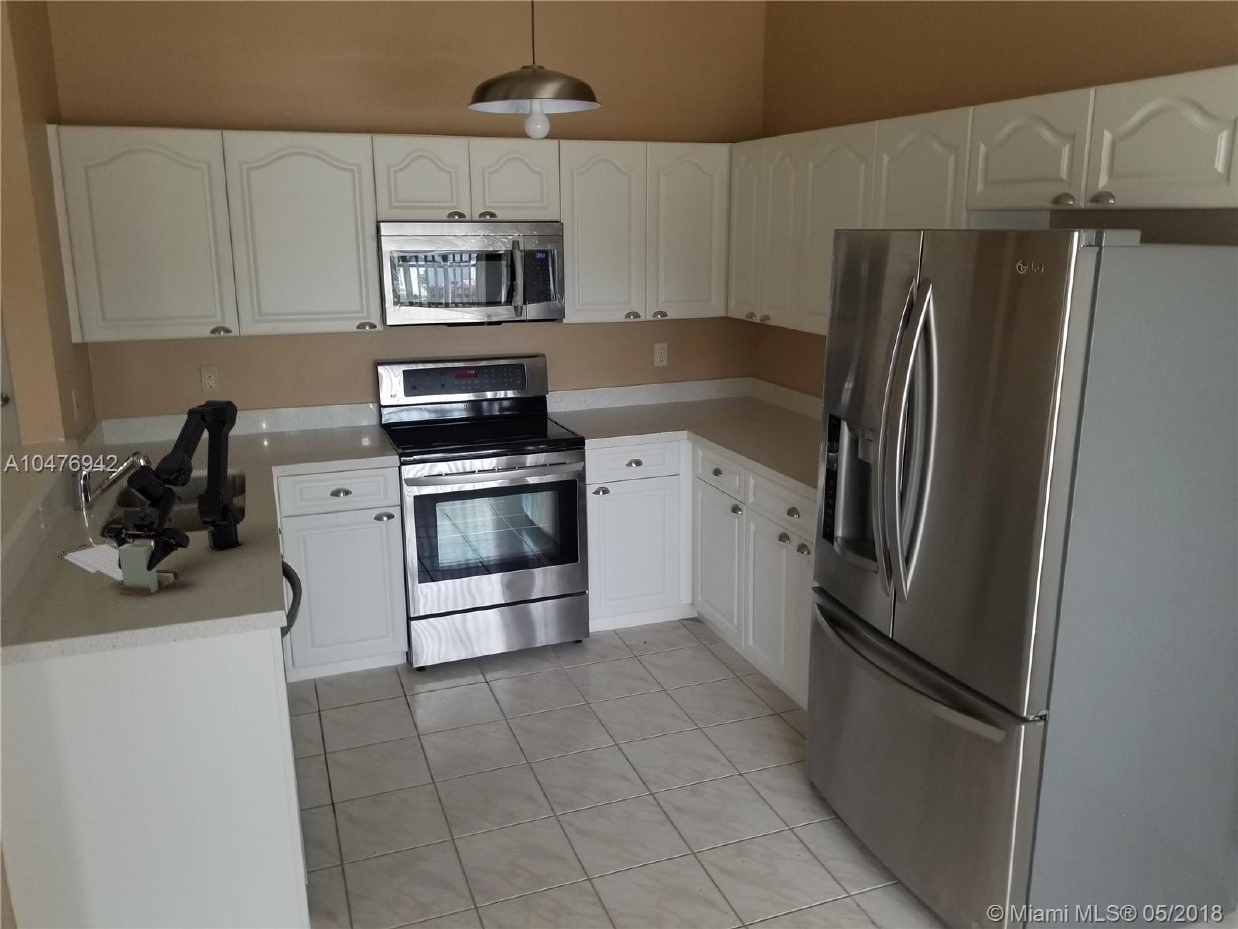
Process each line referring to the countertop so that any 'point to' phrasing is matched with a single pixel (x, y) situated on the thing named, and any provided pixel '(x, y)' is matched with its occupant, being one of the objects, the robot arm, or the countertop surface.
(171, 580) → the offcut low
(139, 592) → the rack
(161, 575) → the offcut top
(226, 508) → the robot arm
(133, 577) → the pale green block
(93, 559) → the baseboard
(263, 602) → the countertop surface
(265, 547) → the countertop surface
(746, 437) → the countertop surface
